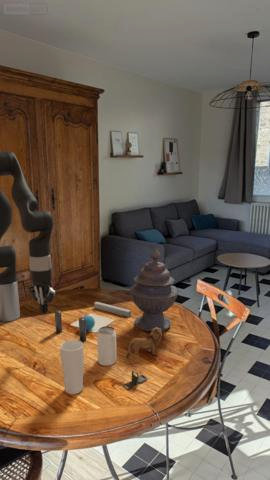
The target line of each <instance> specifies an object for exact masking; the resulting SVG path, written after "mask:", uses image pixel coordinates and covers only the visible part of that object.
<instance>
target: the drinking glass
mask: <svg viewBox="0 0 270 480" xmlns="http://www.w3.org/2000/svg"><path fill="white" fill-rule="evenodd" d="M84 355H85V352H84V344H83V342H81V341H80V340H77V339H69V340H65V341H64V342H62V343H61V345H60V361H61V367H62V368H61V369H62V373H63V380H64V390H65V392H66V393H67V394H68V395H69V394H70V395H77V394H79V393H81V392H82V391H83V389H84V384H83V383H84V382H83V381H84V379H83V378H84V362H85V360H84V359H85V356H84Z"/></svg>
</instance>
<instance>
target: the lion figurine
mask: <svg viewBox="0 0 270 480" xmlns="http://www.w3.org/2000/svg"><path fill="white" fill-rule="evenodd" d="M162 335H163V331H161V328H157V327H156V328H153V329H152V332H149V335H147V336H146V337H142V338H141V337H134V338H132V339H131V341H130V342H129V346H128V349H127V354H126V356H125V358H129V356H131V355H132V354H133V353H132V352H131V351H132V350H134V355H135V356H136V358H137V359H141V358H142V357H141V355H140V354H139V350H140V348H142V349H145V348H146V349H147V348H148V352H151V353H152V354H153V356H156V355H157V352H156V346H158V345H159V344H160V343H161V339H162Z"/></svg>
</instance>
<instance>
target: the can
mask: <svg viewBox="0 0 270 480" xmlns="http://www.w3.org/2000/svg"><path fill="white" fill-rule="evenodd" d="M115 330H116V329H115V328H114V327H113V326H109V325H107V326H104V327H101V328H99V330H98V332H97V339H96V341H97V362H98V364H100V365H101V366H104V367H110V366H113V365H115V363H116V362H117V334H116V331H115Z"/></svg>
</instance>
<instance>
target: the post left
mask: <svg viewBox="0 0 270 480" xmlns="http://www.w3.org/2000/svg"><path fill="white" fill-rule="evenodd" d="M54 323H55V333H56V334H62V333H63V319H62V310H60V309H59V310H55V311H54Z"/></svg>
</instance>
